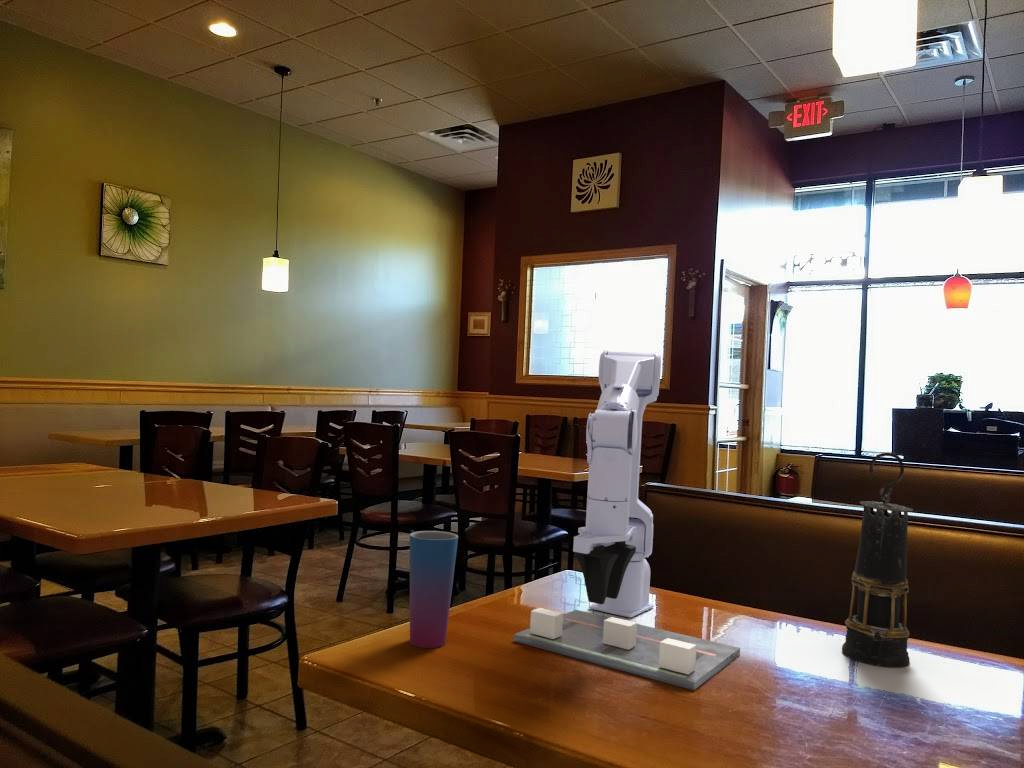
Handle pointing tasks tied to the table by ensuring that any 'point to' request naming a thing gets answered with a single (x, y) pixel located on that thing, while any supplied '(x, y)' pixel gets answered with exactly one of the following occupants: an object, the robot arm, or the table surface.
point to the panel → (631, 650)
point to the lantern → (880, 583)
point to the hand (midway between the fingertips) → (602, 599)
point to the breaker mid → (619, 633)
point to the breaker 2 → (677, 656)
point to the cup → (431, 586)
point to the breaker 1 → (546, 623)
